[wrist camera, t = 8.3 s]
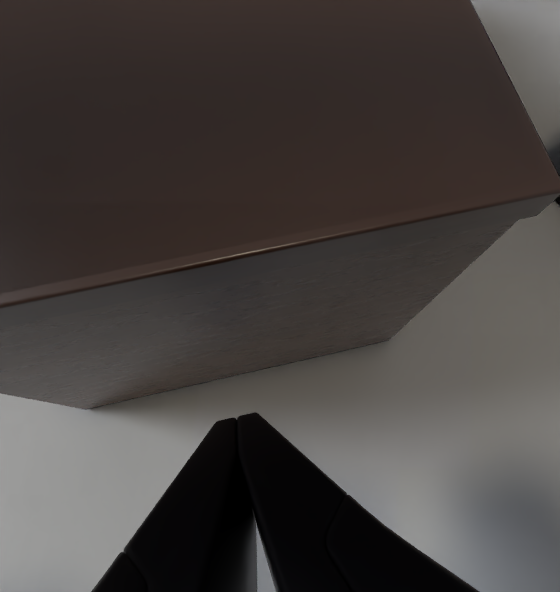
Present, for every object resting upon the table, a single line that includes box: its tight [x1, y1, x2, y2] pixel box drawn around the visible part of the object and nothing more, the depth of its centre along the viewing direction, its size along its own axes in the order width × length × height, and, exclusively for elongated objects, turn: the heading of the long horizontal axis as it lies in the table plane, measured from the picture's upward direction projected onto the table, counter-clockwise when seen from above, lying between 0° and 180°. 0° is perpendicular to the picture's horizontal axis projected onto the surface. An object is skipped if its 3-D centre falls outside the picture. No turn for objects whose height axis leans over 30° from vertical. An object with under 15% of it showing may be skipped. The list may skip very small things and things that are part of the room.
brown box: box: [0, 0, 560, 409], centre depth 14 cm, size 18×11×10 cm, turn 13°
